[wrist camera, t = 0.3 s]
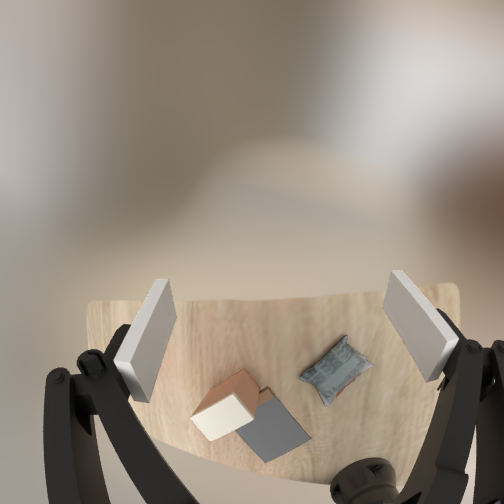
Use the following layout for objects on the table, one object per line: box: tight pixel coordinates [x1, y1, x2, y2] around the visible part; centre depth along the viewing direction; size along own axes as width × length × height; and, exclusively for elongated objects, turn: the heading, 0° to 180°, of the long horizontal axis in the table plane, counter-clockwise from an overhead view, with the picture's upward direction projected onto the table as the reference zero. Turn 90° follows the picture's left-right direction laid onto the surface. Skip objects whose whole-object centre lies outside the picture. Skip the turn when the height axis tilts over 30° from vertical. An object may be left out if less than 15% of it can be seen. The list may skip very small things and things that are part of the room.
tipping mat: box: [235, 387, 311, 463], centre depth 46 cm, size 15×11×2 cm
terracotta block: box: [190, 369, 260, 442], centre depth 41 cm, size 5×8×14 cm, turn 126°
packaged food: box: [299, 335, 375, 406], centre depth 45 cm, size 9×12×5 cm
